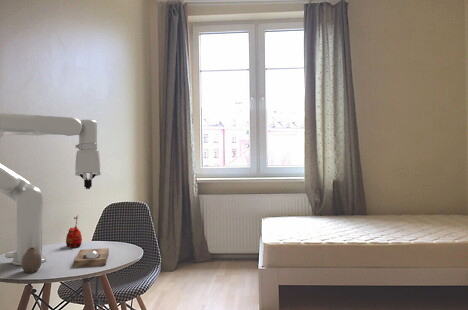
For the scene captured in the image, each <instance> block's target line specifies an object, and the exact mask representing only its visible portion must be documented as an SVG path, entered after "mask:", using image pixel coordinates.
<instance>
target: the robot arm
mask: <svg viewBox="0 0 468 310" xmlns="http://www.w3.org/2000/svg"><path fill="white" fill-rule="evenodd" d="M5 135H8V136H9V135H12V136H13V135H15V136H17V135H18V136H47V135H56V136H57V135H58V136H59V135H61V136H67V137H72V136H78V144H75V149H78V150H76V155H75V167H74V168H75V169H74V171H75V172H74V173H75V174H74V175H75V176H77V177H80V178H81V179H82V180H83V182H84V184H83V185H84V188H85V189H86V190H90V189H91V188H92V187H93V186H92V185H93V183H92V181H93V179H94V178H95V177H97V176H98V177H99V176H101V159H100V152H99V150H98V123H97V121H96V120H95V119H81V120H80V119H78V118H76V117H72V116H71V117H70V116H54V115H53V116H52V115H39V114H23V113H11V112H10V113H9V112H8V113H7V112H0V139H1V138H2V137H4V136H5ZM87 174H89V176H87ZM0 193H2V194H4V195H5V196H7V198H10V199H12V200H13V201H14V202H16V215H15V217H16V218H15V219H16V220H15V223H16V225H15V226H16V228H15V229H16V232H15V233H16V237H15V238H16V239H15V240H16V246H15V247H16V248H15V249H16V250H15V251H14V252H5V253H4V258H6V259H12V261H11V263H12V265H15V266H21V261H22V257H23V255H24V254H25V253H26V252H27V250H28V248H35V249H36V251H37V252H38V253H39V254H40V256H41V264H42V263H44V262H46V261H47V256H46V255H43V209H44V208H43V207H44V196H43V192H42V191H41V189H40V188H39V187H38V186H37V185H34V184H32V183H31V182H29V181H28V180H27V179H25V178H24V177H22V176H21V175H19V174H18V173H17V172H15V171H14V170H12V169H10V168H9V167H7V166H5V165H3V164H2V163H1V162H0Z"/></svg>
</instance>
